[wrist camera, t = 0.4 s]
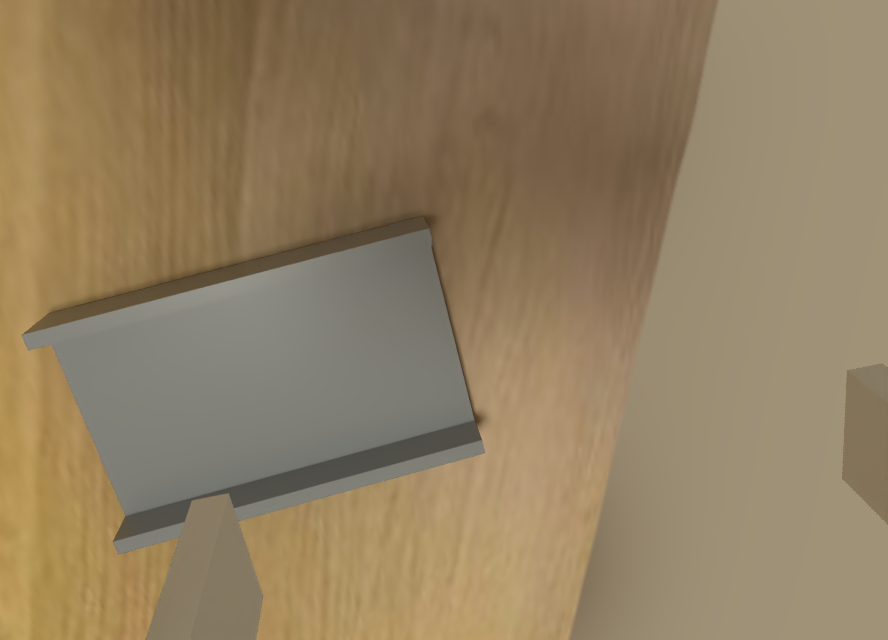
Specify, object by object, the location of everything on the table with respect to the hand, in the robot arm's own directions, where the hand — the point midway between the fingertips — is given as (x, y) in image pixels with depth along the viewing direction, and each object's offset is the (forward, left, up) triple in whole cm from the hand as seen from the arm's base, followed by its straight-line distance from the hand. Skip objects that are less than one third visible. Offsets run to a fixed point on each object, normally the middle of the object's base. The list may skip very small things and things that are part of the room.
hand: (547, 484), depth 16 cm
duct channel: (+5, -10, -26) cm, 29 cm away
